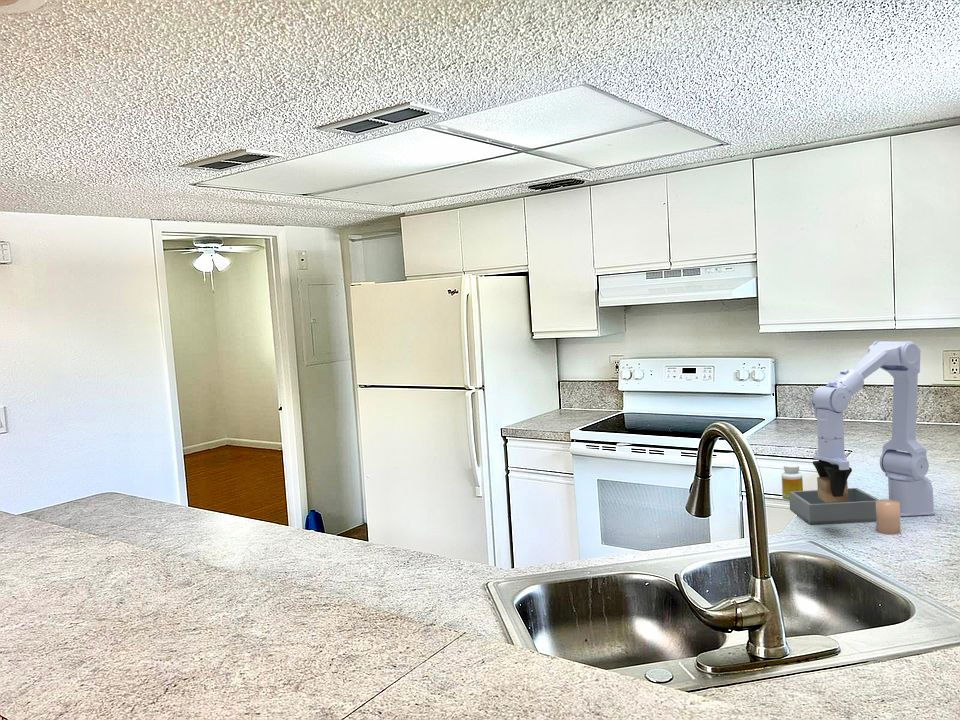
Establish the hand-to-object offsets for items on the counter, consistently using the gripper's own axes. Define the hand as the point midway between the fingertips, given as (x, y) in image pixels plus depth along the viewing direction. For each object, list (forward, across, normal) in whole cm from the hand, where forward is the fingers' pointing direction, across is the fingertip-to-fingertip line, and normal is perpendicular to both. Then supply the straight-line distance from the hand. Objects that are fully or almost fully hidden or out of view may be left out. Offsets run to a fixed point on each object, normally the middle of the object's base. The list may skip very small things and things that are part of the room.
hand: (832, 493), depth 180 cm
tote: (+9, -13, +6) cm, 17 cm away
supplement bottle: (+10, -30, +1) cm, 31 cm away
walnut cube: (+2, 0, 0) cm, 2 cm away
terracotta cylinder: (+9, +2, +12) cm, 15 cm away
